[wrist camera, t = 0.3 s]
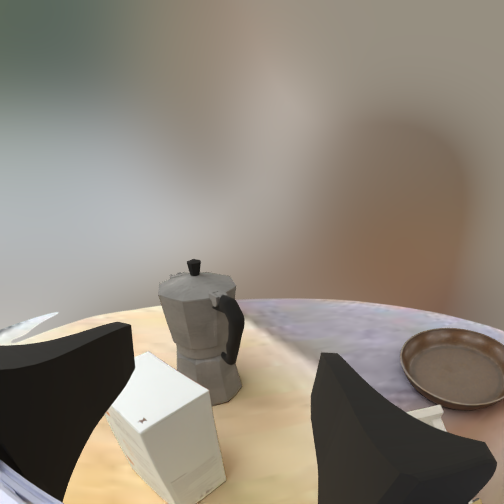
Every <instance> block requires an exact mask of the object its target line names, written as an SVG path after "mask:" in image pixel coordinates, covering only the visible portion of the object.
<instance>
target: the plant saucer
mask: <svg viewBox="0 0 504 504" xmlns="http://www.w3.org/2000/svg"><path fill="white" fill-rule="evenodd" d="M400 360H401V364H402V367H403V370H404V372H405V374H406V376H407V378H408V380H409V381H410V383H411V384H412V385H413V386H414V388H415V389H416V390H417V391H418V392H420V393H421V394H422V395H423V396H424V397H426V398H427V399H429V400H430V401H432V402H434V403H436V404H439V405H441V406H444V407H447V408H452V409H457V410H474V409H480V408H484V407H487V406H490V405H492V404H495V403H497V402H498V401H500V400H502V399H503V398H504V345H503V344H501V343H500V342H498V341H497V340H495V339H493V338H491V337H489V336H487V335H484V334H481V333H478V332H474V331H470V330H465V329H457V328H439V329H431V330H427V331H423V332H420V333H418V334H416V335H414V336H412V337H411V338H410V339H408V340H407V341H406V342H405V344H404V345H403V347H402V349H401V354H400Z"/></svg>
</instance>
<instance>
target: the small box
mask: <svg viewBox="0 0 504 504" xmlns="http://www.w3.org/2000/svg"><path fill="white" fill-rule="evenodd" d="M134 360H135V370H134V372H133V374H132V376H131V378H130V379H129V381H128V383H127V385H126V386H125V388H124V389H123V391H122V392H121V393H120V395H119V396H118V397H117V399H116V400H115V401H114V403H113V404H112V405H111V406H110V408H109V409H108V410H107V412H106V413H105V416H106V419H107V421H108V423H109V425H110V427H111V429H112V431H113V433H114V435H115V437H116V439H117V441H118V443H119V445H120V447H121V449H122V451H123V453H124V454H125V456H126V458H127V460H128V462H129V464H130V465H131V467H132V469H133V470H134V471H135V472H136V473H137V474H138V475H139V476H140V477H141V478H142V479H143V480H144V481H145V482H146V483H147V484H148V485H149V486H150V487H151V488H152V489H153V490H154V491H155V492H156V493H157V494H158V495H159V496H160V497H161V498H162V499H163V500H165V501H166V502H167V503H168V504H196V503H198V502H199V501H200V500H202V499H203V498H204V497H206V496H207V495H208V494H210V493H211V492H212V491H213V490H215V489H216V488H217V487H218V486H220V485H221V484H222V483H223V482H224V481H226V474H225V470H224V465H223V461H222V456H221V451H220V446H219V441H218V436H217V431H216V426H215V421H214V416H213V410H212V404H211V399H210V392H209V390H208V389H207V388H205V387H203V386H201V385H200V384H198V383H197V382H195V381H193V380H192V379H190V378H188V377H187V376H185V375H184V374H182V373H180V372H179V371H177V370H176V369H174V368H173V367H171V366H170V365H168V364H167V363H165V362H164V361H162V360H161V359H159V358H158V357H156V356H155V355H153V354H152V353H151V352H149V351H148V352H145V353H143V354H141V355H139V356H136V357H134Z"/></svg>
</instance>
